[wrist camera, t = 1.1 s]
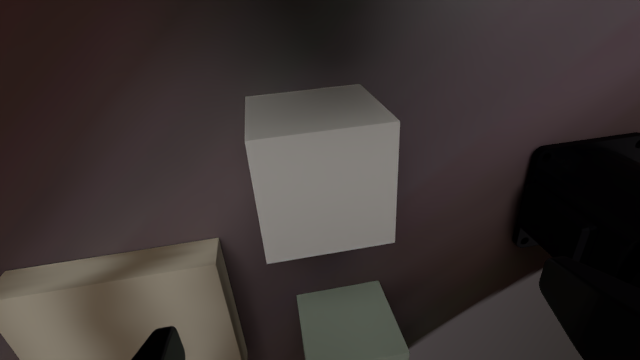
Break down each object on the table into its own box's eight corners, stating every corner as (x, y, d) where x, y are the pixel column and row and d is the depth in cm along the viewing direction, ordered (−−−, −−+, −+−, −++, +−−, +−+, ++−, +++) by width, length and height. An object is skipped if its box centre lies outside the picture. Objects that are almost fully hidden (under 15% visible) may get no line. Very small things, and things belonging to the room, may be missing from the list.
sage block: (378, 279, 22) (409, 352, 18) (377, 334, 25) (404, 410, 20) (296, 294, 22) (308, 373, 17) (303, 348, 24) (316, 430, 20)
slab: (218, 237, 19) (215, 264, 17) (247, 351, 23) (247, 381, 21) (5, 271, 17) (-22, 303, 16) (78, 384, 22) (64, 419, 20)
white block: (359, 83, 16) (400, 121, 12) (360, 181, 19) (394, 242, 14) (245, 96, 16) (244, 141, 11) (262, 195, 18) (266, 264, 14)
